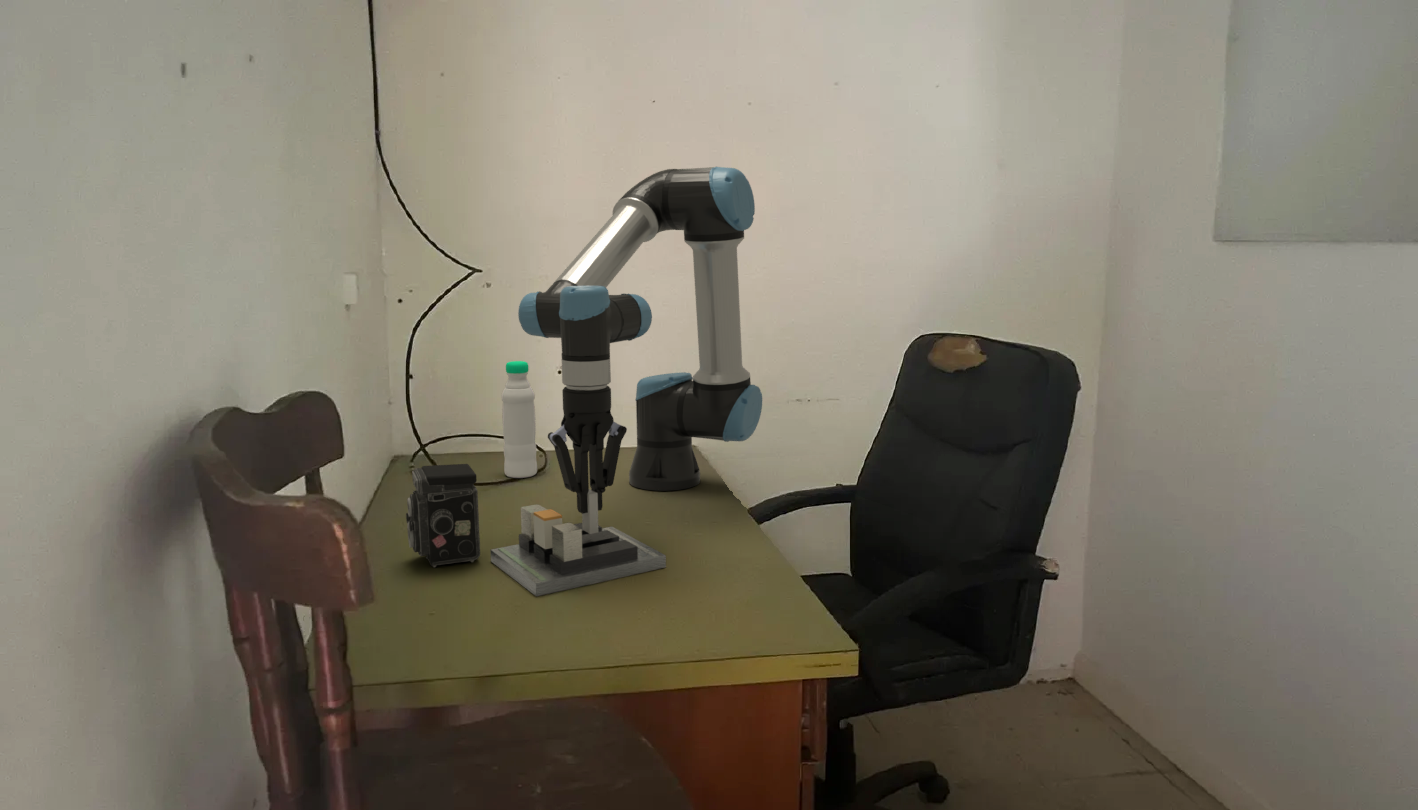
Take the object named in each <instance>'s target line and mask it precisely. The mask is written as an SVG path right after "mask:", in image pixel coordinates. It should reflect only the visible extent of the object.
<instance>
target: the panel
mask: <svg viewBox="0 0 1418 810" xmlns="http://www.w3.org/2000/svg"><path fill="white" fill-rule="evenodd" d="M544 510H548V509H547V508H546V507H544V506H542V505H540V504H531V505H525V506H520V522H521V526H520V527H521V533H520V534H518V544H513V545H507V546H501V547H497V548H492V549H490V562H491V563H492V564H494V565H495V566H496V567H498V568H499V569H500V570H501V571H503V572H504V573H505V574H506V575H508V576H509V577H510V578H512V579H513V580H514V581H516V582H517V583H518V584H520V585H521V586H522V587H523V588H525V590H527V591H528V592H530V593H531V594H532V595H534V596H535V597H540V596H545V595H549V594H555V593H558V592H562V591H568V590H571V589H576V588H580V587H586V586H590V585H594V584H597V583H603V582H607V581H612V580H616V579H621V578H625V577H630V576H633V575H639V574H642V573H643V574H644V573H646V572H651V571H655V570H660V569H661V570H662V569H664V568H665V569H666V568H667V563H666V561H667V556H666V554H664V553H662V552H660V551H659V550H657V549H655V548H653V547H651V546H649V545H647V544H646V543H644V542H642V541H641V540H638V539H636V538H634V537H632V536H631V535H629V534H627V533H625V532H623V531H621V530H620V529H618V528H616V527H614V526H609V527H608V526H607V527H602V526H601V525H599V524H598V533H593V534H589V533H587V532H586V531H584V530H583V526H582V522H579V523H571V522H566V523H562V524H559V525H554V526H552V547H553V548H549V549H544V548H542V547H541V546H539V545H538V544H536V543H535V541H534V512H538V511H544Z"/></svg>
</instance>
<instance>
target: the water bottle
mask: <svg viewBox="0 0 1418 810" xmlns="http://www.w3.org/2000/svg"><path fill="white" fill-rule="evenodd" d="M505 372H506V375H507V376H508V377H507V378H508V379H507V381H506V383H505V385H504V388H503V390H502V393H501V401H502V409H501V410H502V434H503V435H502V436H503V443H504V444H503V455H504V457H503V458H504V464H503V467H504V468H503V470H504V475H505V476H507V477H508V478H513V479H523V478H524V479H525V478H530V477H533V476H535V475H536V474H537V472H538V463H537V462H538V461H537V445H536V444H537V443H536V433H537V432H536V431H537V428H536V426H537V425H536V409H535V396H536V394H535V392H534V390H533V388H532V386H531V383H530V381H529V380H528V378H527V375H528V373H529V363H528V362H527V361H524V360H514V361H513V360H511V361H508V362H506V364H505Z"/></svg>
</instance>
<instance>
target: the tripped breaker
mask: <svg viewBox="0 0 1418 810" xmlns="http://www.w3.org/2000/svg"><path fill="white" fill-rule="evenodd" d="M559 524H563V515H562V514H560V513H559V512H557V511H555V510H553V509H551V508H549V509H547V510H544V511H538V512H534V541H535V543H536V544H538V545H539V546H541V547H542V548H544V549H549V548H553V547H552V526H554V525H559Z"/></svg>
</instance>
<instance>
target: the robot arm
mask: <svg viewBox="0 0 1418 810" xmlns="http://www.w3.org/2000/svg"><path fill="white" fill-rule="evenodd" d="M754 197H755V196H754V194H753V189H752V187H751V184H750V182H749V180H748V178H747V176H746V175H745V174H744V173H743V172H742V171H741V170H739V169H737V168H734V167H722V166H713V167H700V168H699V167H697V168H693V167H692V168H667V169H664V170H663V169H662V170H660V171H657V172H655V173H653V174H651V175H649V176H647V177H646V178H644V179H642V180H640V181H639V182H638V183H637V184H635V185H634V186H633V187H631V188H630V189H629V190H627V191H626V192H625V193H624V194H623V195H622V196H621V197H620V198H619V199H618V201H617V202H616V203H615V205H614V206H613V209H612V215H611V217H610V218H609V219H608V220H607V221H606V223H604V225H603V226H602V227H601V228H600V229H599V231H598V232H597V233H596V234H595V235H594V236H593V237H592V239H590V241H589V242H588V243H587V244H586V245H585V246H584V248H582V250H581V251H580V252H579V253H578V255H576V257H575V258H574V259H573V260H572V261H571V262H570V263H569V265H568V266H566V268H565V269H564V270H563V271H562V272H561V273H560V275H558V276H557V278H556V279H555V281H553V283H552V284H551V285H550V286H549V287H548V288H547V290H546V291H543V292H542V291H537V292H530V293H527V294H525V295H524V296H523V297H522V299H520V300H521V301H520V303H519V306H518V312H517V313H518V315H517V316H518V322H519V323H520V327H521V329H522V330H523V331H524V332H525V333H526V334H528V336H529V335H530V336H534V337H542V338H544V339H545V338H546V339H549V338H552V339H554V338H555V339H560V340H561V341H560V342H561V344H560V345H561V382H562V384H563V385H564V387H563V389H562V390H561V391H562V410H563V417H562V420H561V423H560V427H559V428H558V429H557V430H556V431H554V432H552V431H551V432H549V433H548V434H547V439H548V440H549V442H550V443H551V445H552V446H553V447H554V451H555V455H556V458H557V459H556V460H557V462H558V466H559V470H560V474H561V478H562V481H563V484H564V488H565V489H566V490H569V491H571V492H573V493H576V509H577V511H578V513H581V519H582V521H581V523H582V526H583V530H584V531H586V532H587V533H589V534H593V533H598V525H599V511H602V510H603V493H605V492H606V488H608V487H612V485H614V480H615V476H616V471H617V465H618V461H619V460H618V459H619V456H620V451H621V445H622V441H623V440H624V437H625V436H626V433H627V430H628V428H627V427H626V426H624V425H622V424H619V423H617V422H615V421H614V417H613V415H612V412H611V409H612V388H611V387H610V386H609V384H610V383H612V382H611V381H612V378H611V377H612V376H611V374H612V373H611V372H612V371H611V353H610V352H611V344H614V343H619V342H624V341H628V342H629V341H633V340H635V339H637V338H640V337H642V336H644V335H645V334H647V332H648V331H649V330H650V328H651V325H652V321H653V313H652V308H651V306H650V304H649V303H648V301H647V300H646V299H645V298H644V297H643V296H641V295H640V294H635V293H634V294H633V293H620V294H610V293H609V289H608V288H607V287H608V286H609V285H610V284H611V282H612V281H613V280H614V279H615V278H616V276H617V275H618V274H619V273H620V271H622V269H623V268H624V267H625V265H626V264H627V262H629V260H630V259H631V258H632V257H633V255H634V254H635V253H636V251H638V249H639V248H640V247H641V246H642V244H643V243H647V242H650V241H652V240H653V239H654V238H655V237H656V236H657V235H658V234H659V233H661V232H666V231H674V230H675V231H683V239H684V243H686V244H687V245H688V247H690V248H691V249H692V256H693V258H692V259H693V272H694V273H693V275H694V276H693V277H694V290H695V291H694V295H695V308H696V309H695V310H696V311H695V313H696V324H697V325H696V327H697V343H698V344H697V345H698V357H699V358H698V359H699V368H698V370H697V371H696V372H695V373H694V374H693V376H692V374H691V373H690V372H685V371H683V372H670V373H662V374H655V375H651V376H646V377H643V378H641V379H639V381H638V382H637V384H636V390H635V391H636V393H635V406H636V407H635V411H636V412H635V415H636V417H635V418H636V449H635V452H634V456H633V458H632V462H631V465H630V469H629V472H628V481H629V484H630V485H631V486H633V487H635V488H637V489H641V490H646V491H661V492H662V491H665V492H666V491H669V492H670V491H679V490H686V489H691V488H693V487H696V486H697V485H699V484H700V483H701V470H700V467H699V463H698V461H697V458H696V455H695V451H694V448H693V442H692V441H693V440H692V439H693V438H695V439H696V438H697V439H709V440H715V441H721V442H722V441H724V442H727V443H728V442H745V441H747V440H748V439H749V438H750V437H751V436H752V435H753V434H754V433H755V431H756V430H757V426H758V424H759V422H760V419H761V415H762V409H763V394H762V393H763V392H761V388H760V387H759V386H758V385H756V384H751V383H752V382H751V373H750V372H749V370H747V369H746V368H745V367H744V366H743V354H742V333H741V329H742V328H741V309H740V306H741V305H740V287H739V286H740V285H739V284H740V283H739V267H738V266H739V265H738V262H739V260H738V246H739V245H740V244H741V243H742V242H743V240H744V239H745V231H746V230H749V229H750V228H751V227H752V225H753V222H754V219H755V218H754V215H755V211H756V208H755V204H756V203H755V199H754ZM607 434H608V436H607ZM606 436H607V440H606V445H605V443H604V440H605V438H606ZM567 437H568V438H569V439H570V440H571V442H572V449H573V452H574V453H573V454H574V455H573V457H574V458H573V460H574V466H573V461H572V459H571V455H570V450H569V448H568V445H567V443H566V442H567V441H568V439H567ZM604 448H605V450H604ZM603 451H604V452H603ZM603 453H604V455H603ZM603 456H604V457H603Z"/></svg>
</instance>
